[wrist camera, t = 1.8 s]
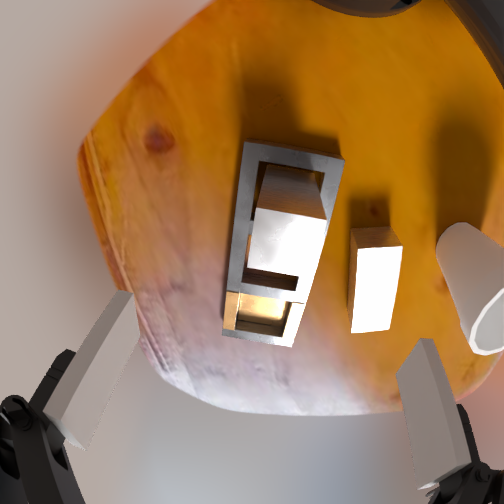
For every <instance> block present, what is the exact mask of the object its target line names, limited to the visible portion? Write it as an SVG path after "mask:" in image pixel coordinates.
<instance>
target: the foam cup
mask: <svg viewBox="0 0 504 504" xmlns="http://www.w3.org/2000/svg"><path fill="white" fill-rule="evenodd" d="M436 258H437V261H438V263H439V266H440V268H441V270H442V273H443V275H444V278H445V280H446V282H447V285H448V288H449V290H450V293H451V295H452V298H453V301H454V303H455V306H456V309H457V312H458V315H459V318H460V321H461V323H460V326H461V328H462V330H463V332H464V334H465V336H466V339H467V341H468V343H469V345H470V346H471V348H472V350H473V352H474V353H477V354H481V355H489V354H493V353H496V352H500V351H502V350H503V349H504V248H503V247H502V246H500V245H499V244H498V243H496V242H495V241H494V240H492V239H491V238H489V237H488V236H487V235H485V234H484V233H482V232H481V231H479V230H478V229H476V228H475V227H473V226H472V225H470V224H468V223H467V222H461V223H455V224H454V225H452V226H450V227H448V228H447V229H446V230H445V231H444V233H443V234H442V235H441V236H440V238H439V240H438V243H437V246H436Z"/></svg>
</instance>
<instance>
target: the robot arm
mask: <svg viewBox="0 0 504 504" xmlns="http://www.w3.org/2000/svg"><path fill="white" fill-rule="evenodd" d="M312 1H314V2H316V3H318V4H320V5H322V6H324V7H326V8H329V9H331V10H334V11H337V12H340V13H344V14H348V15H353V16H359V17H372V18H376V17H387V16H392V15H396V14H399V13H401V12H403V11H405V10H407V9H409V8H411V7H413V6H414V5H416V4H417V3H419V2H420V1H421V0H312ZM444 1H445V2H446V3H447V5H448V6H449V7H450V8H451V9H452V11H453V12H454V13H455V14H456V16H457V17H458V18H459V20H460V21H461V22H462V24H463V25H464V26H465V28H466V29H467V30H468V32H469V33H470V35H471V36H472V38H473V39H474V40H475V42H476V43H477V45H478V46H479V48H480V50H481V51H482V53H483V54H484V56H485V57H486V59H487V61H488V62H489V64H490V66H491V67H492V69H493V71H494V72H495V74H496V76H497V78H498V80H499V81H500V83H501V85H502V87H503V89H504V0H444ZM139 337H140V332H139V326H138V320H137V314H136V307H135V301H134V294H133V293H130V292H126V291H122V290H118V291H117V292H116V294H115V295H114V297H113V298H112V300H111V301H110V302H109V304H108V305H107V307H106V308H105V310H104V311H103V313H102V314H101V316H100V317H99V319H98V320H97V322H96V323H95V325H94V326H93V328H92V329H91V331H90V332H89V334H88V336H87V337H86V339H85V340H84V342H83V343H82V345H81V347H80V348H79V350H78V351H77V353H76V352H73V351H71V350H68V349H66V350H65V351H64V352H62V353H61V354H59V355H58V356H57V357H56V359H55V360H54V362H53V363H52V365H51V368H49V370H48V372H47V373H46V376H44V378H43V380H42V381H41V383H40V384H39V386H38V388H37V389H36V391H35V393H34V395H33V396H32V398H31V400H30V401H29V403H28V402H27V401H26V400H25V399H24V398H23V397H21V396H19V395H11V396H8V397H6V398H5V400H3V401H2V403H1V405H0V504H28V503H29V504H85V501H84V499H83V497H82V494H81V492H80V489H79V487H78V484H77V482H76V479H75V476H74V474H73V471H72V468H71V465H70V463H69V459H68V456H67V453H66V450H65V447H64V445H63V443H64V440H65V438H66V439H67V440H68V441H69V442H70V444H72V445H75V446H77V447H79V448H81V449H83V450H85V451H87V449H88V447H89V445H90V442H91V440H92V437H93V435H94V433H95V430H96V428H97V426H98V424H99V421H100V419H101V417H102V415H103V412H104V410H105V408H106V406H107V404H108V401H109V399H110V397H111V395H112V393H113V391H114V388H115V386H116V384H117V382H118V380H119V378H120V376H121V374H122V372H123V369H124V367H125V365H126V363H127V361H128V359H129V357H130V355H131V353H132V351H133V349H134V347H135V345H136V343H137V341H138V339H139ZM396 378H397V382H398V386H399V391H400V395H401V400H402V404H403V409H404V414H405V418H406V424H407V429H408V434H409V440H410V446H411V451H412V458H413V465H414V472H415V479H416V488H417V490H418V489H422V488H428V487H431V486H433V485H435V484H437V483H438V482H439V485H440V486H439V487H437V488H435V489H434V490H432V491H430V492H428V493H427V495H426V497H428V496H429V495H431V494H433V496H431V497H430V501H429V503H428V504H488V503H490V502H492V504H504V470H502V471H501V470H492V469H490V467H489V466H488V465H487V464H486V463H483V462H481V461H480V458H479V455H478V450H477V446H476V443H475V439H474V436H473V432H472V428H471V425H470V424H469V423H470V421H469V418H468V415H467V412H466V410H465V409H464V408H463V406H462V405H461V404H456V402H455V399H454V396H453V393H452V390H451V387H450V384H449V381H448V378H447V376H446V373H445V370H444V367H443V365H442V362H441V359H440V357H439V354H438V351H437V349H436V346H435V344H434V341H433V339H424V338H420V339H419V341H418V342H417V344H416V345H415V347H414V348H413V350H412V351H411V353H410V354H409V356H408V357H407V359H406V360H405V362H404V363H403V364H402V366H401V367H400V369H399V370H398V371H397V373H396Z"/></svg>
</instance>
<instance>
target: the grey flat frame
mask: <svg viewBox="0 0 504 504" xmlns="http://www.w3.org/2000/svg"><path fill="white" fill-rule="evenodd" d="M260 161H266V162H272V163H277V164H283V165H289V166H294V167H300V168H305V169H310V170H315V171H320V172H322V174H321V178H320V183H319V187H318V189H319V193H320V196H321V200H322V203H323V207H324V211H325V215H326V218H327V222H326V226H325V230H324V234H323V237H322V241H321V244H320V248H319V252H318V255H317V259H316V262H315V266H314V269H313V272H312V276H311V278H307V277H301V276H296V280H295V281H293V280H287V279H281V278H275V277H269V276H263V275H258V274H252V273H246V272H244V266H245V259H246V252H247V245H248V239H249V234H250V235H252V232H253V225H254V219H255V213H254V212H252V211H253V204H254V198H255V191H256V184H257V177H258V171H259V164H260ZM344 163H345V160H344V158H343V157H342V156H341V155H336V154H332V153H327V152H323V151H318V150H313V149H308V148H303V147H298V146H292V145H287V144H281V143H275V142H269V141H263V140H256V139H249V138H247V139H246V140H245V141H244V147H243V155H242V163H241V170H240V178H239V186H238V194H237V203H236V211H235V219H234V228H233V236H232V245H231V254H230V263H229V272H228V281H227V291H226V300H225V310H224V320H223V330H222V335H223V336H229V337H234V338H239V339H245V340H251V341H257V342H263V343H269V344H276V345H282V346H289V347H291V346H292V343H293V340H294V337H295V334H296V331H297V328H298V325H299V322H300V319H301V316H302V313H303V310H304V307H305V304H306V301H307V297H308V294H309V291H310V288H311V284H312V281H313V278H314V275H315V271H316V268H317V265H318V261H319V258H320V254H321V251H322V247H323V244H324V240H325V237H326V233H327V230H328V226H329V222H330V218H331V215H332V211H333V207H334V203H335V199H336V195H337V191H338V187H339V183H340V179H341V175H342V171H343V167H344ZM240 294H241V299H240ZM239 301H240V306H239ZM289 301H290V302H289ZM288 304H289V306H288ZM287 307H288V309H287ZM238 308H239V313H238ZM286 311H287V313H286ZM285 314H286V316H285ZM237 315H238V319H237ZM284 318H285V320H284ZM283 322H284V323H283ZM282 325H283V326H282Z"/></svg>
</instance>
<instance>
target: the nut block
mask: <svg viewBox="0 0 504 504" xmlns="http://www.w3.org/2000/svg"><path fill="white" fill-rule="evenodd" d="M402 248H403V246H402V244H401V242H400V241H399V239H398V237H397V236H396V234H395V233H394V231H393V229H392V228H391V226H385V227H367V228H351V231H350V267H349V287H348V302H347V311H348V316H349V321H350V327H351V332H352V333H356V332H367V331H377V330H387V329H389V326H390V321H391V316H392V311H393V306H394V301H395V295H396V289H397V283H398V277H399V270H400V263H401V256H402Z"/></svg>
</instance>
